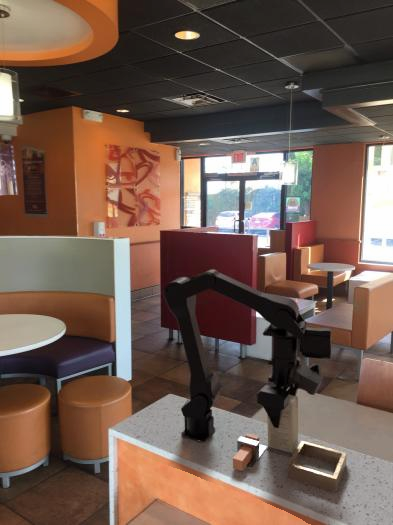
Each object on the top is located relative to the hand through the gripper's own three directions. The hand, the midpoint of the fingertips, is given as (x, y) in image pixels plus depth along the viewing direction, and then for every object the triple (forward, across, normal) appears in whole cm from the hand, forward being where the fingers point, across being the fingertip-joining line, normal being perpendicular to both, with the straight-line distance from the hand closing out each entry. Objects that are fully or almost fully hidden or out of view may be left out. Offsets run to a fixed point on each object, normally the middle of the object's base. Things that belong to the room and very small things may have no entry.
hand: (283, 418), depth 103 cm
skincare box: (+7, 0, 0) cm, 7 cm away
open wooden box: (+7, -5, -9) cm, 13 cm away
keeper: (+7, -6, +6) cm, 11 cm away
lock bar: (+7, -8, +6) cm, 12 cm away
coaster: (+7, 0, 0) cm, 7 cm away
